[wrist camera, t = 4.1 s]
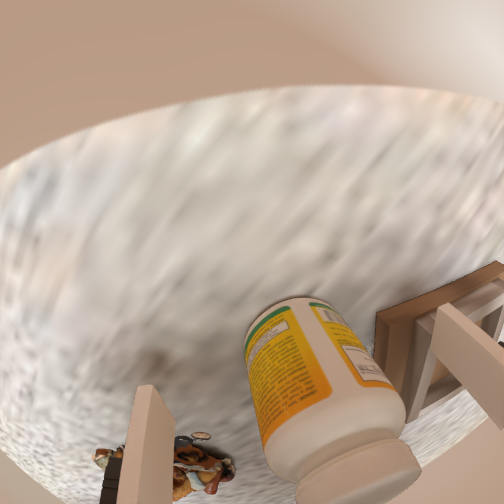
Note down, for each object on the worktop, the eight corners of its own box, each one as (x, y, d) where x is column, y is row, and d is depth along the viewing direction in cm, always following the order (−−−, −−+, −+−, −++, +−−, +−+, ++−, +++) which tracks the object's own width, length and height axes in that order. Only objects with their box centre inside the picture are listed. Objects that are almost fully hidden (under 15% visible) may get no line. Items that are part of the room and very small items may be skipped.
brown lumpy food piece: (80, 443, 16) (72, 475, 13) (205, 424, 17) (207, 466, 13) (128, 480, 19) (125, 508, 15) (242, 464, 19) (247, 497, 16)
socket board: (367, 407, 18) (384, 436, 15) (376, 312, 15) (406, 343, 12) (475, 350, 19) (495, 368, 16) (496, 260, 16) (524, 275, 13)
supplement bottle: (344, 287, 14) (469, 427, 5) (334, 366, 16) (408, 497, 7) (237, 301, 13) (286, 503, 4) (245, 382, 15) (280, 540, 6)
